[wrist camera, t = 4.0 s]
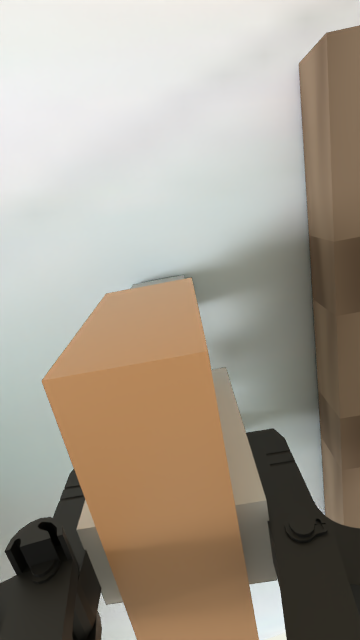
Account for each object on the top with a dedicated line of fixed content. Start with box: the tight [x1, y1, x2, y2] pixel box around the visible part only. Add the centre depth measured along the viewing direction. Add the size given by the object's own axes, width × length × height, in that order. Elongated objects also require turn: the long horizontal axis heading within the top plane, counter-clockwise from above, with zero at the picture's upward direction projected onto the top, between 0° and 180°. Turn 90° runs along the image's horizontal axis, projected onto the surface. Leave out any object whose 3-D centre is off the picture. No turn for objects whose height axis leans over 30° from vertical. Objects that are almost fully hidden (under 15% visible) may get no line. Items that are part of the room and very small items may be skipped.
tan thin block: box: [42, 275, 259, 640], centre depth 12 cm, size 3×11×10 cm, turn 11°
